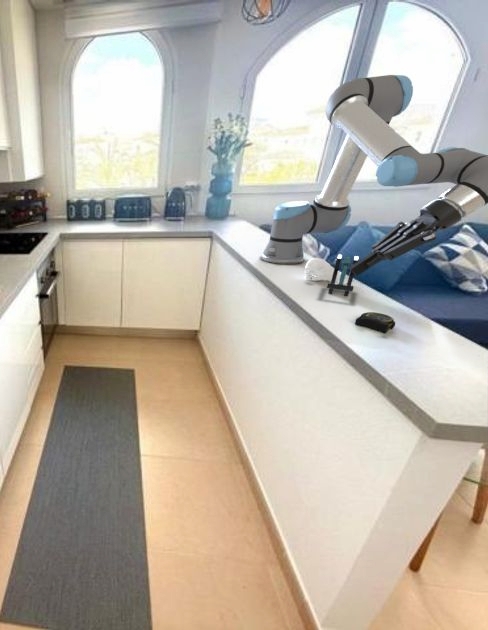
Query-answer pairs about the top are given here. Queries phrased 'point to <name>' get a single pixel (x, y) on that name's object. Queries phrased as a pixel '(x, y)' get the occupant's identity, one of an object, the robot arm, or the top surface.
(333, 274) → the bracket
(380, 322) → the tape measure
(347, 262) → the lever
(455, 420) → the top surface
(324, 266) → the white lumpy piece
